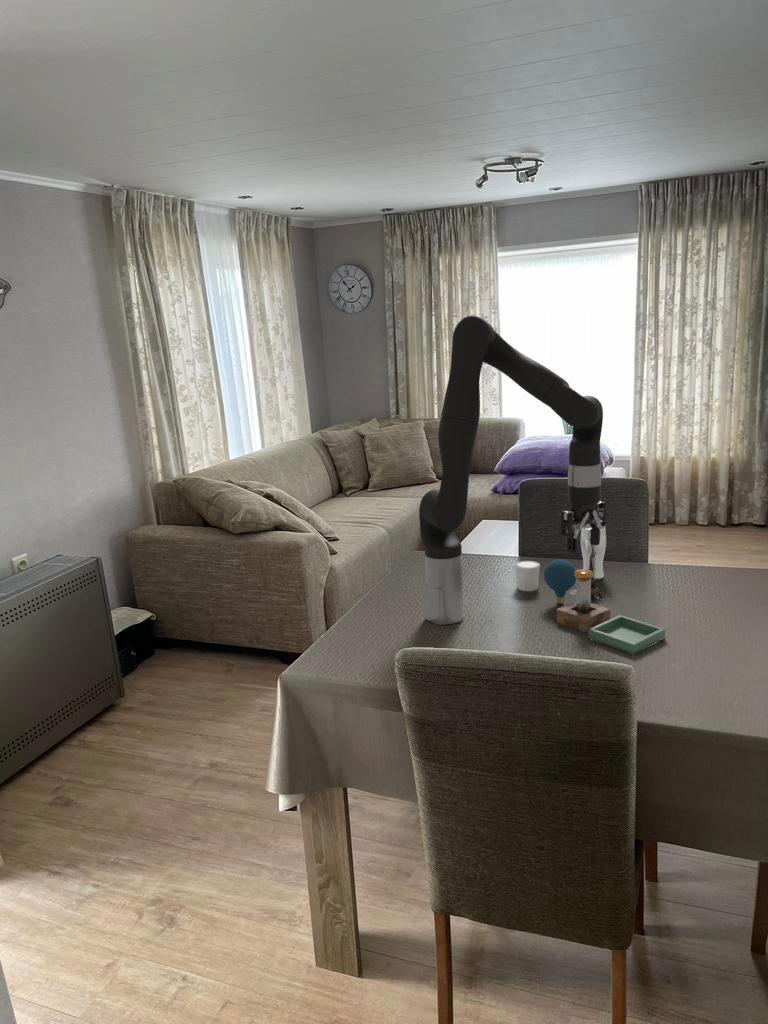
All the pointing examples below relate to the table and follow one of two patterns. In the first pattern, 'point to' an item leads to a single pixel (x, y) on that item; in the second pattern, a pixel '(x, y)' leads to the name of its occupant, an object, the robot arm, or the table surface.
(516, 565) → the white cylinder
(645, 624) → the tray
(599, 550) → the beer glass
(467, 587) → the table surface
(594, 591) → the eiffel tower figurine
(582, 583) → the pin
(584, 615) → the socket block
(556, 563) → the light bulb
